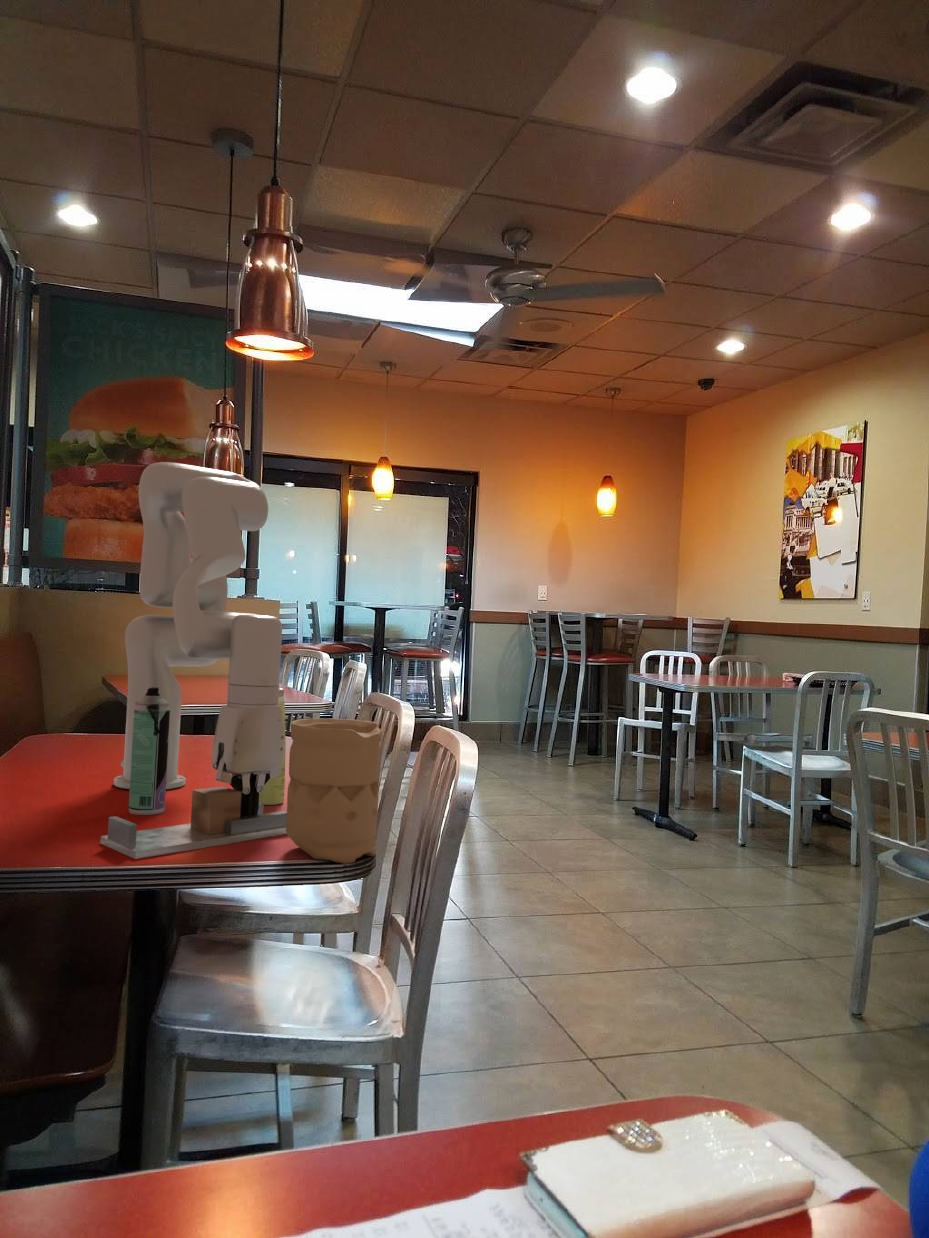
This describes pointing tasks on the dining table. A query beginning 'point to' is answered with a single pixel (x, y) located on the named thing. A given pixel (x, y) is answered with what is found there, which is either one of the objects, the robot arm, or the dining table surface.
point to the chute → (189, 834)
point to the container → (334, 788)
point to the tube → (275, 786)
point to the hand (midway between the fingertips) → (246, 818)
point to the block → (214, 808)
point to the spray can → (149, 754)
